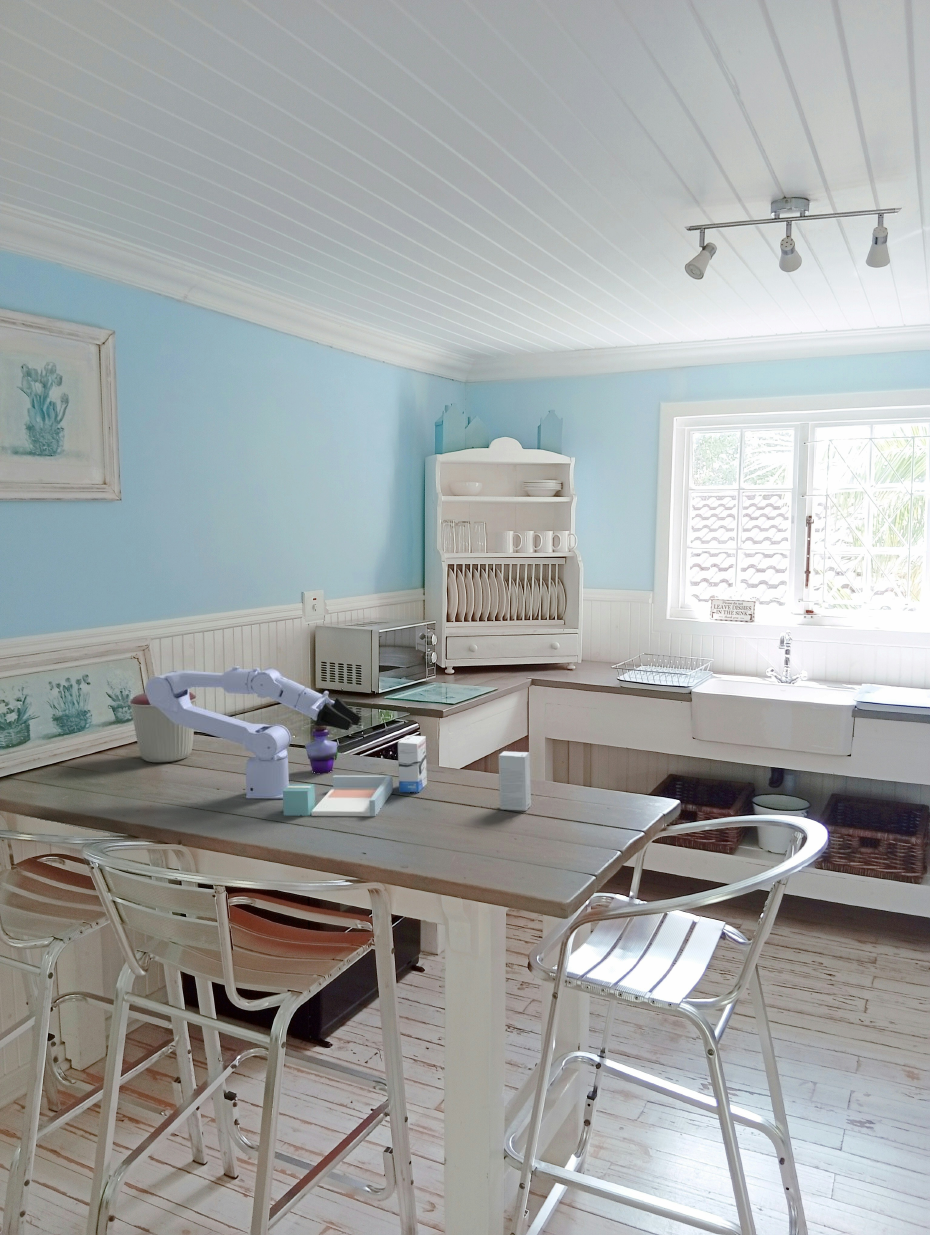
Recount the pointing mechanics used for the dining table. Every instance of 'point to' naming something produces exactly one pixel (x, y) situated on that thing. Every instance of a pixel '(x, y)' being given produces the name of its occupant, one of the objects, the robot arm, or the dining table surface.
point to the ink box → (412, 763)
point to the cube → (299, 799)
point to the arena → (355, 796)
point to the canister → (160, 732)
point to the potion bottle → (321, 751)
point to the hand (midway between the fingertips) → (354, 723)
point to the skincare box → (514, 780)
